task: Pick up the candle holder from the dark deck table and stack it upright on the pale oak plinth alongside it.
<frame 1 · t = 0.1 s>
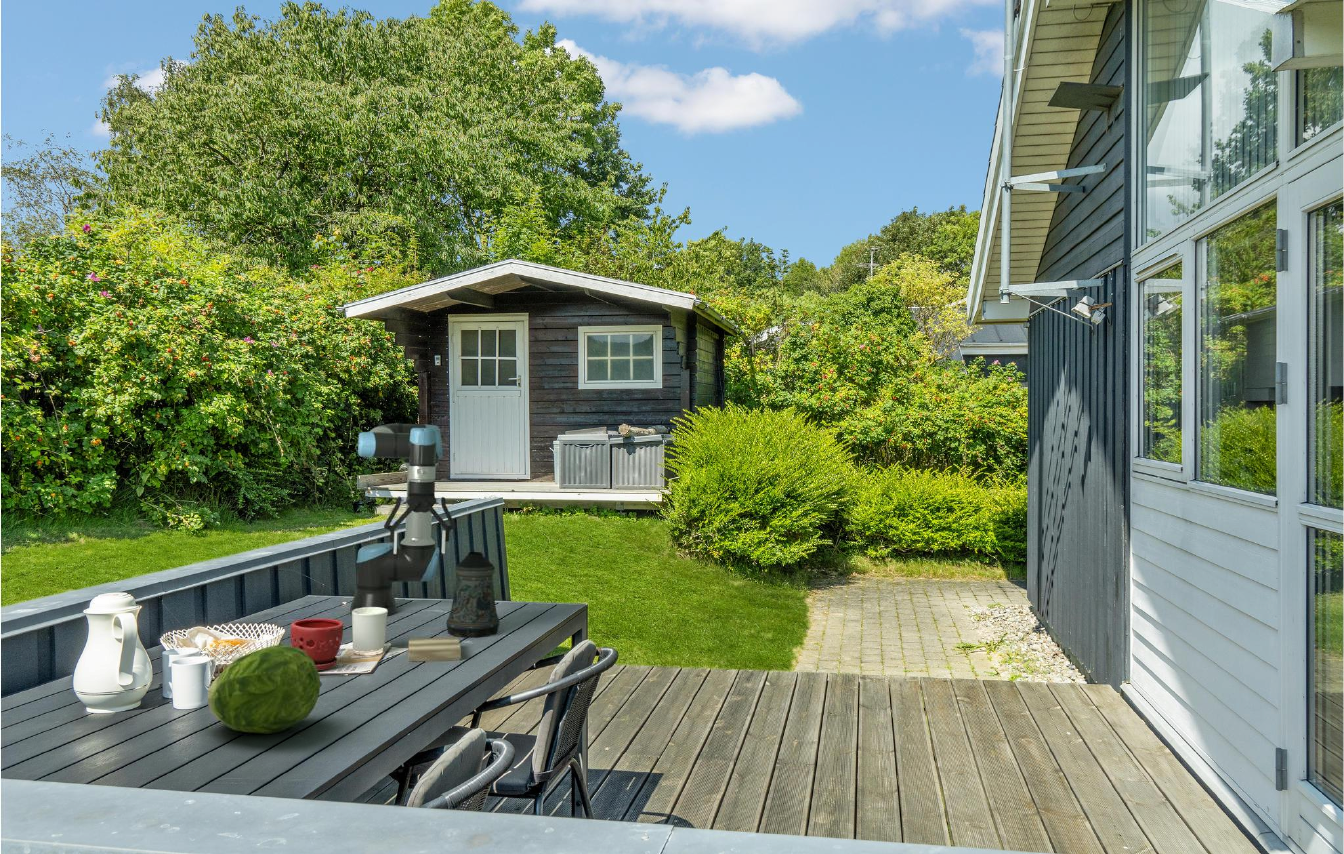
hand: (419, 553, 267), 28 cm above the table, tool pointing down, fingers open, 13 cm apart
lettuce: (261, 730, 196), on the table
candle holder: (368, 653, 261), on the table
plant pot: (315, 667, 244), on the table
beer stein: (469, 631, 290), on the table
plinth: (434, 654, 261), on the table
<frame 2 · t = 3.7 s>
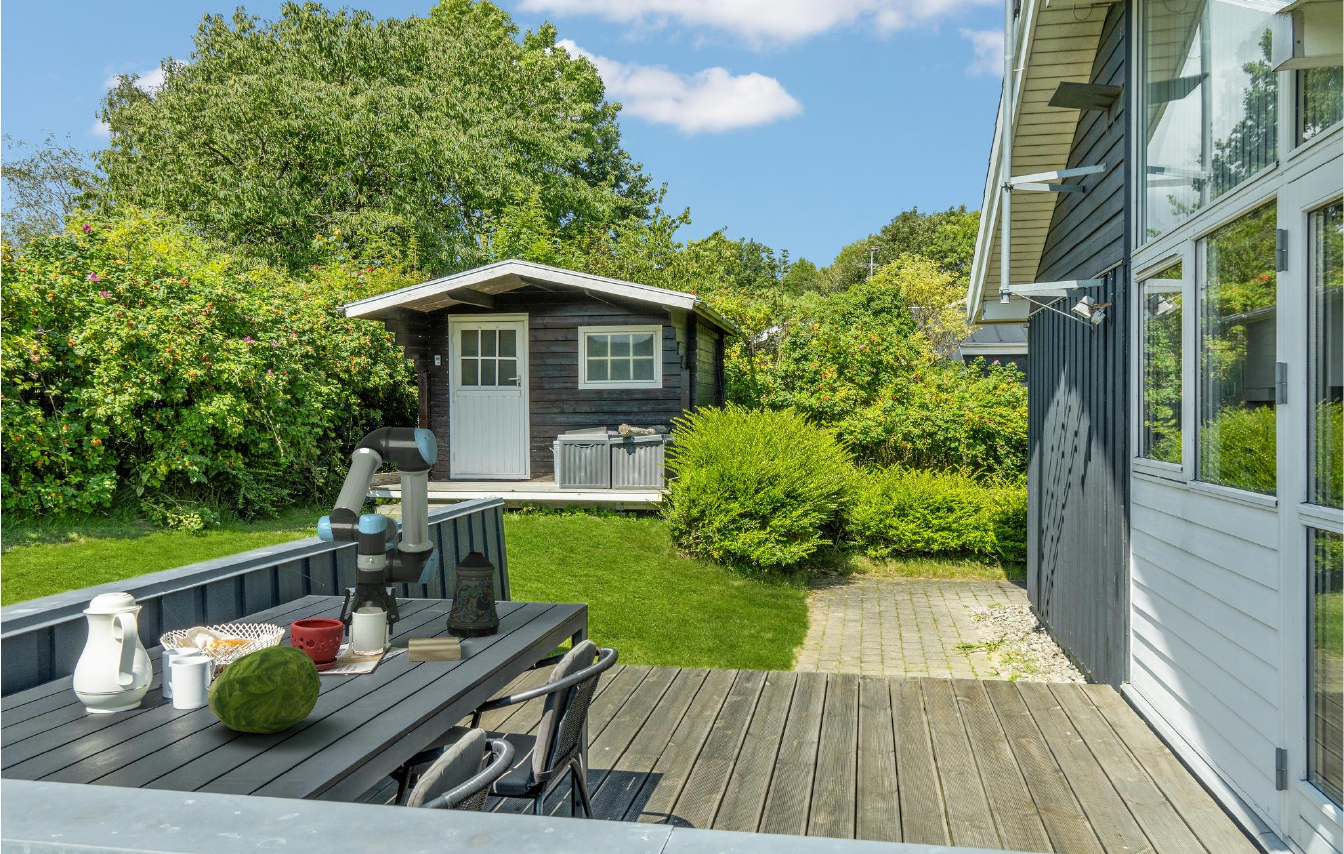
hand: (368, 646, 260), 2 cm above the table, tool pointing down, fingers closed on candle holder, 9 cm apart
candle holder: (368, 652, 260), on the table, touching gripper
everything else where it was.
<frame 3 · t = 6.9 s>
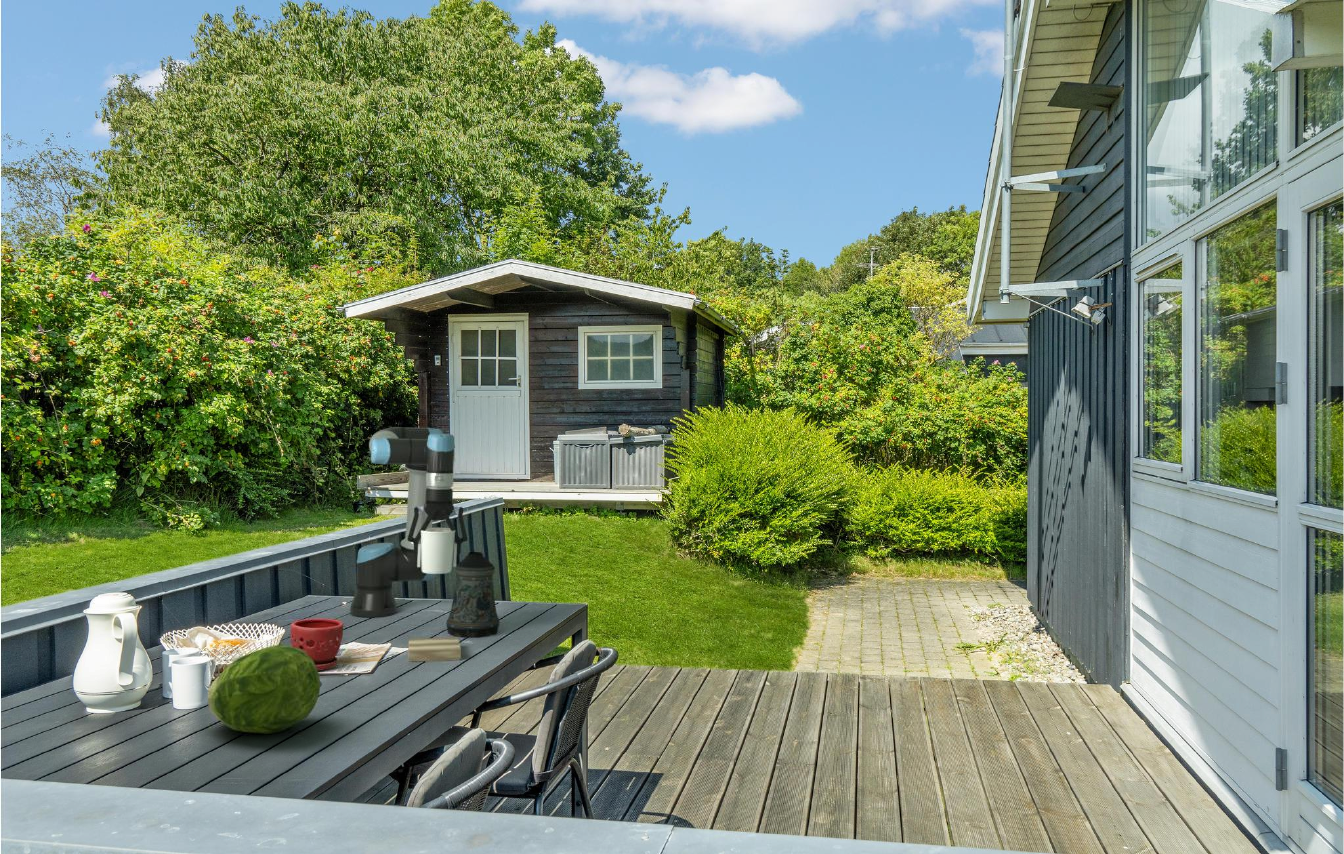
hand: (436, 565, 261), 25 cm above the table, tool pointing down, fingers closed on candle holder, 9 cm apart
candle holder: (436, 572, 260), point 24 cm above the table, touching gripper
everything else where it was.
when the fingers open (6 cm above the table, at t = 10.4 s): candle holder drops 1 cm, resting on plinth.
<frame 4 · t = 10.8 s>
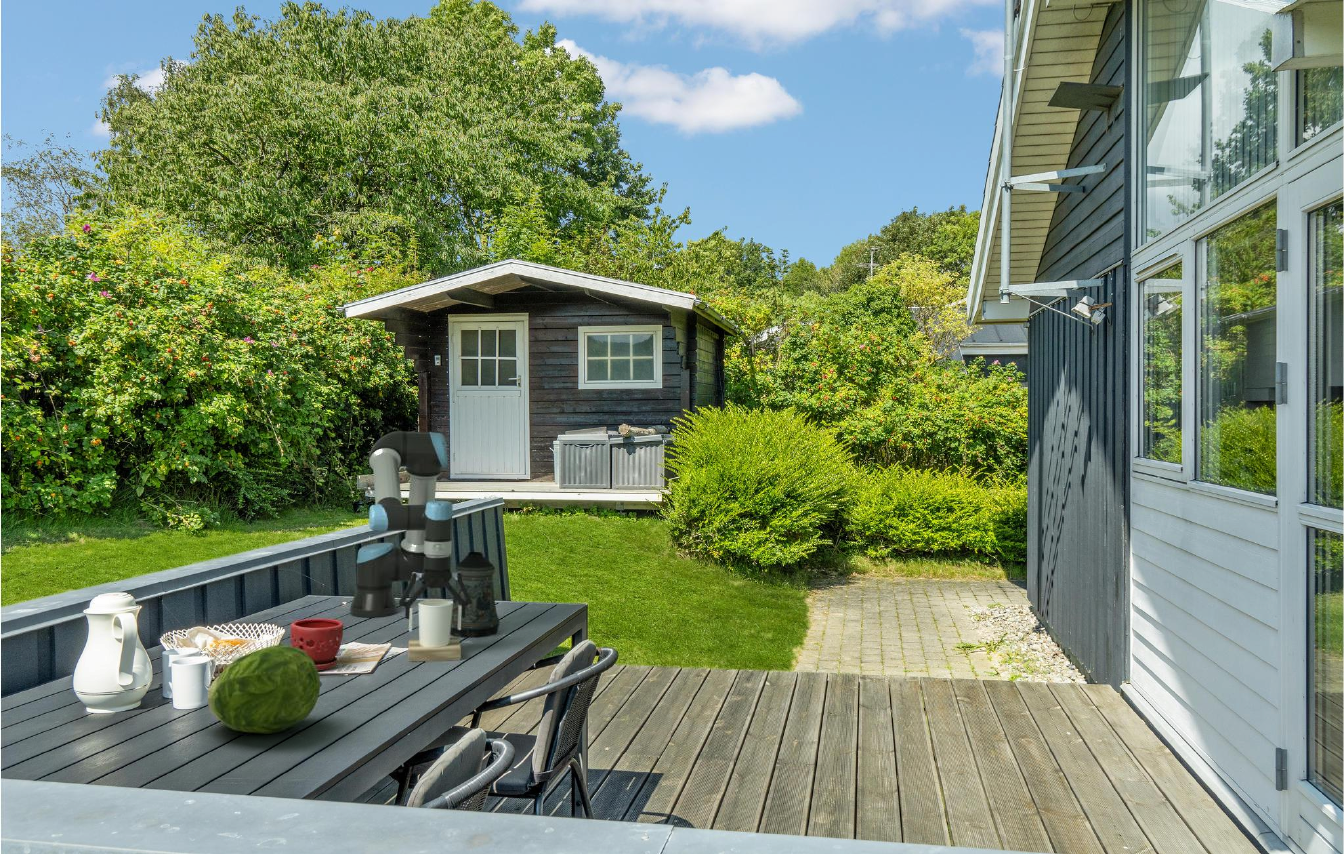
hand: (434, 629, 261), 7 cm above the table, tool pointing down, fingers open, 13 cm apart
candle holder: (434, 644, 261), point 3 cm above the table, touching plinth
everything else where it was.
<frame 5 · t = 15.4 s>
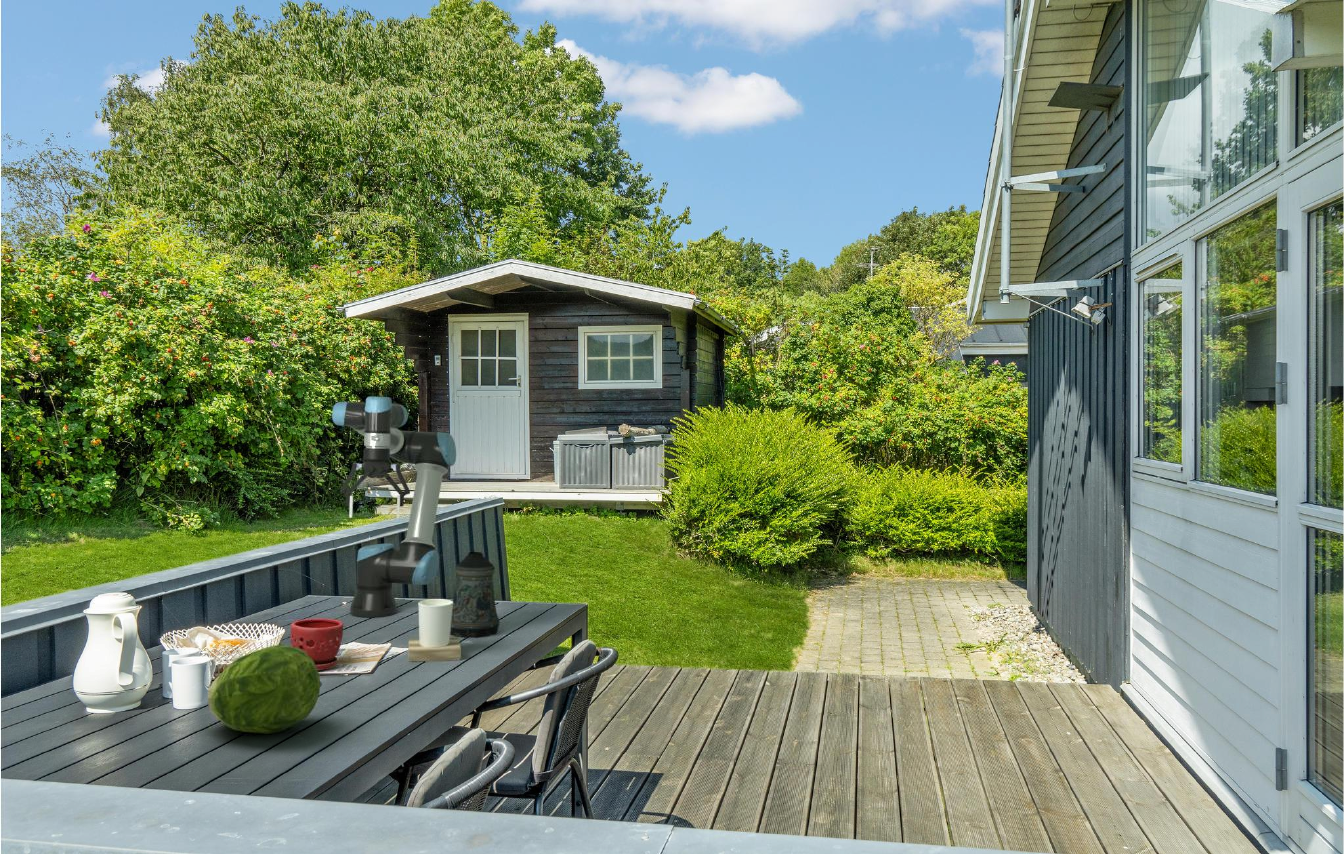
hand: (374, 517, 276), 37 cm above the table, tool pointing down, fingers open, 13 cm apart
nothing on the table moved.
at the end: candle holder inside the target area on the plinth (0.0 cm from its centre), point 2.8 cm above the plinth's base; candle holder tilted 0°; the gripper is holding nothing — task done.
